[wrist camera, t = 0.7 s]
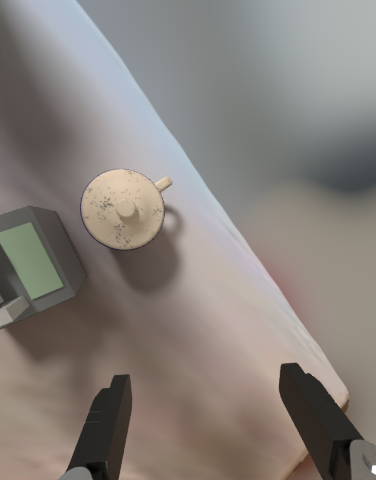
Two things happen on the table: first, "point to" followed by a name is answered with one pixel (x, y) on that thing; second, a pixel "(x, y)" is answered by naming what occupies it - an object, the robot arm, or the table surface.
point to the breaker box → (35, 264)
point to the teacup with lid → (123, 208)
